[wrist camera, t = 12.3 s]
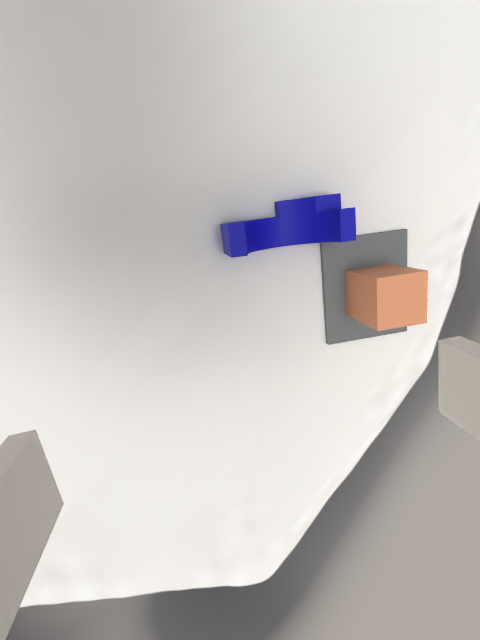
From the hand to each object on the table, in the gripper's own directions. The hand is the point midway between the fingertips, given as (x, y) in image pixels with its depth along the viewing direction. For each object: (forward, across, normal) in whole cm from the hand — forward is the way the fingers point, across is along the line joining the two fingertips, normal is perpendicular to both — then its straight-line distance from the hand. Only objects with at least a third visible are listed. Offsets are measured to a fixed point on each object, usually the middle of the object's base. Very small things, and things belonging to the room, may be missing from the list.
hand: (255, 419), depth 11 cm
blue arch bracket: (+28, +9, +5) cm, 30 cm away
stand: (+28, +18, -4) cm, 33 cm away
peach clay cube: (+27, +18, -4) cm, 33 cm away
